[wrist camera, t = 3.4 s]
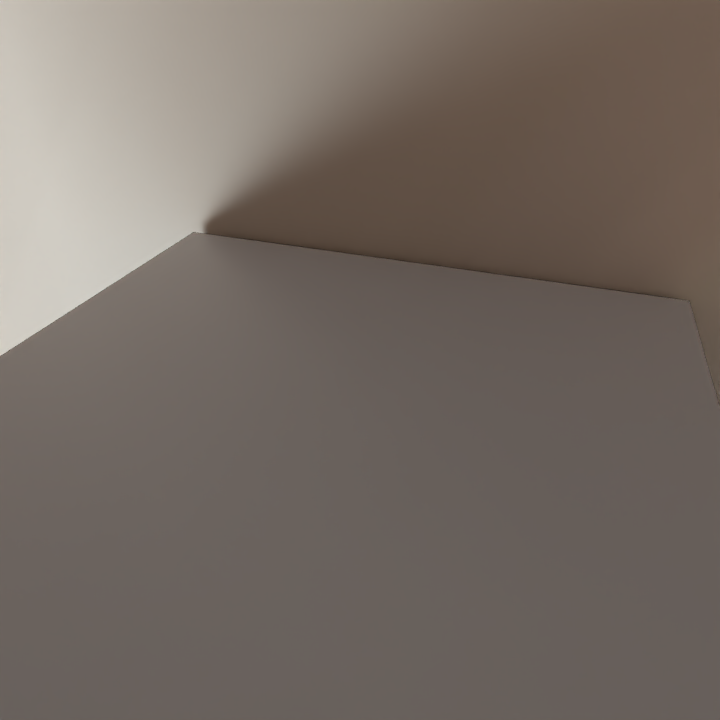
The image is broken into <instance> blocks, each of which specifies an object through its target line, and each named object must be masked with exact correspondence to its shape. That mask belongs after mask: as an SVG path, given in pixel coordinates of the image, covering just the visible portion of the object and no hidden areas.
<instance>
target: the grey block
mask: <svg viewBox="0 0 720 720" xmlns="http://www.w3.org/2000/svg"><path fill="white" fill-rule="evenodd" d="M0 720H720V406H719V402H718V399H717V395H716V392H715V388H714V385H713V381H712V378H711V374H710V371H709V367H708V364H707V361H706V357H705V354H704V350H703V347H702V343H701V340H700V336H699V333H698V329H697V326H696V322H695V319H694V315H693V312H692V308H691V305H690V301H687V300H679V299H672V298H665V297H658V296H651V295H643V294H636V293H629V292H622V291H614V290H607V289H600V288H593V287H586V286H578V285H571V284H564V283H557V282H550V281H542V280H535V279H528V278H521V277H513V276H506V275H499V274H492V273H485V272H477V271H470V270H463V269H456V268H448V267H441V266H434V265H427V264H420V263H412V262H405V261H398V260H391V259H384V258H376V257H369V256H362V255H355V254H347V253H340V252H333V251H326V250H319V249H311V248H304V247H297V246H290V245H283V244H275V243H268V242H261V241H254V240H246V239H239V238H232V237H225V236H218V235H210V234H203V233H196V232H193V233H191V234H190V235H188V236H187V237H185V238H184V239H182V240H180V241H179V242H177V243H176V244H174V245H173V246H171V247H170V248H168V249H166V250H165V251H163V252H162V253H160V254H159V255H157V256H156V257H154V258H152V259H151V260H149V261H148V262H146V263H145V264H143V265H142V266H140V267H138V268H137V269H135V270H134V271H132V272H131V273H129V274H127V275H126V276H124V277H123V278H121V279H120V280H118V281H117V282H115V283H113V284H112V285H110V286H109V287H107V288H106V289H104V290H103V291H101V292H99V293H98V294H96V295H95V296H93V297H92V298H90V299H89V300H87V301H85V302H84V303H82V304H81V305H79V306H78V307H76V308H75V309H73V310H71V311H70V312H68V313H67V314H65V315H64V316H62V317H61V318H59V319H57V320H56V321H54V322H53V323H51V324H50V325H48V326H46V327H45V328H43V329H42V330H40V331H39V332H37V333H36V334H34V335H32V336H31V337H29V338H28V339H26V340H25V341H23V342H22V343H20V344H18V345H17V346H15V347H14V348H12V349H11V350H9V351H8V352H6V353H4V354H3V355H1V356H0Z"/></svg>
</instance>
